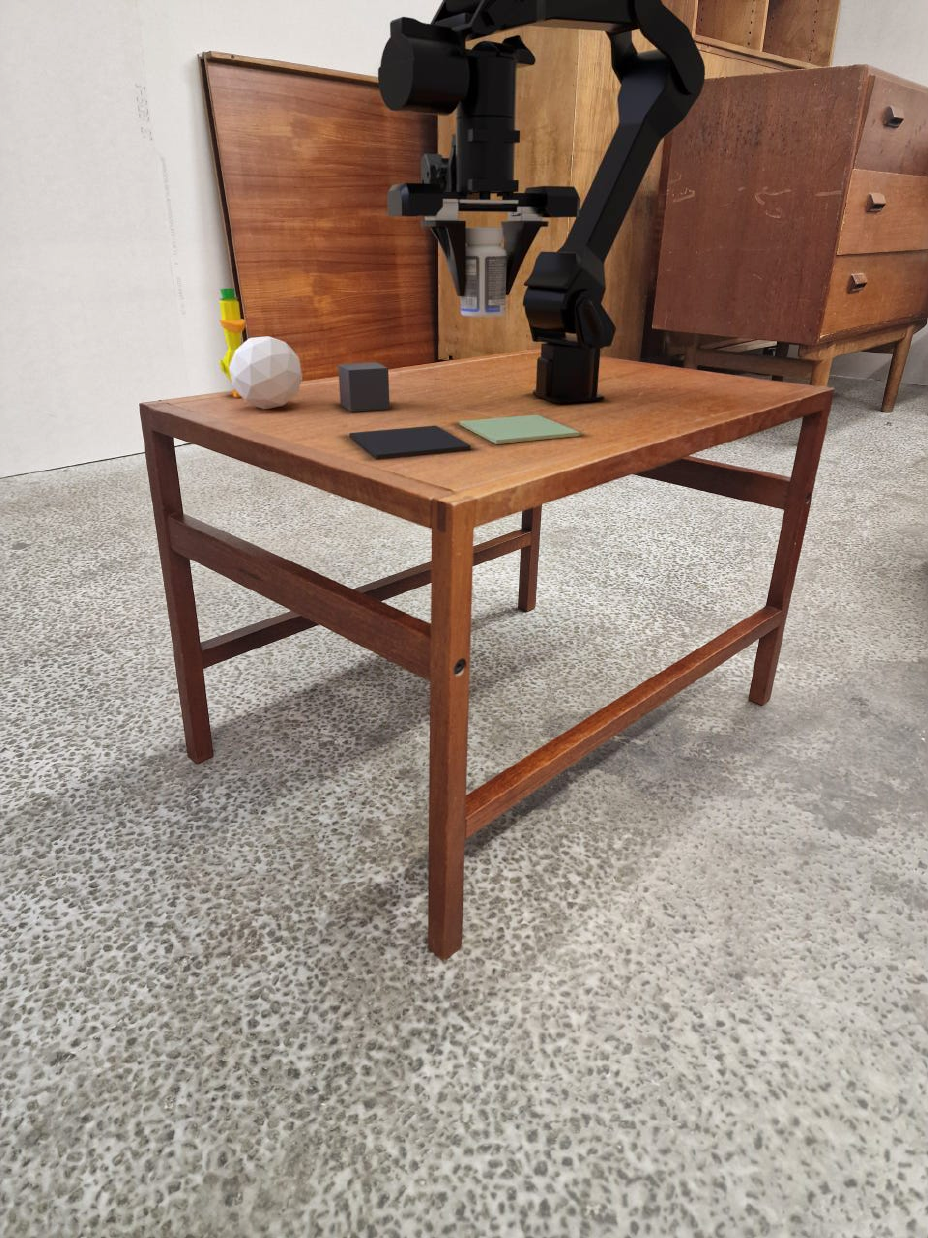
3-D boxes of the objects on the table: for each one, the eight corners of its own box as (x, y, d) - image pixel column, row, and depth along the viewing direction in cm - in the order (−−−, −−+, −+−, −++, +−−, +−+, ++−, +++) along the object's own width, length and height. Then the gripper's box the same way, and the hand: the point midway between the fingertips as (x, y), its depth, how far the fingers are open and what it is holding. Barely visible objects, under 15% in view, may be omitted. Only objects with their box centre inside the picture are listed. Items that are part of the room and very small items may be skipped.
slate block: (378, 402, 94) (376, 361, 92) (389, 409, 90) (388, 367, 88) (340, 404, 92) (337, 364, 90) (350, 412, 88) (348, 370, 86)
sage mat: (537, 417, 86) (537, 414, 86) (579, 436, 78) (579, 431, 78) (459, 424, 83) (459, 420, 83) (495, 444, 75) (496, 440, 75)
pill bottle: (504, 313, 87) (506, 227, 83) (506, 318, 82) (508, 227, 79) (460, 313, 87) (460, 227, 83) (460, 318, 82) (460, 227, 79)
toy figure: (262, 399, 95) (250, 289, 89) (231, 401, 93) (218, 290, 88) (249, 390, 100) (237, 286, 95) (220, 392, 99) (207, 287, 93)
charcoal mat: (436, 429, 81) (435, 425, 81) (470, 449, 73) (470, 445, 73) (349, 436, 78) (349, 432, 78) (376, 459, 70) (376, 454, 70)
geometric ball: (255, 430, 92) (224, 368, 93) (318, 401, 93) (287, 340, 93) (242, 408, 85) (209, 341, 85) (311, 377, 86) (278, 311, 86)
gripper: (538, 132, 86) (532, 288, 93) (369, 124, 81) (376, 292, 87) (587, 120, 77) (577, 295, 84) (400, 111, 71) (405, 299, 78)
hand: (483, 295), depth 84 cm, fingers closed on pill bottle, 5 cm apart
